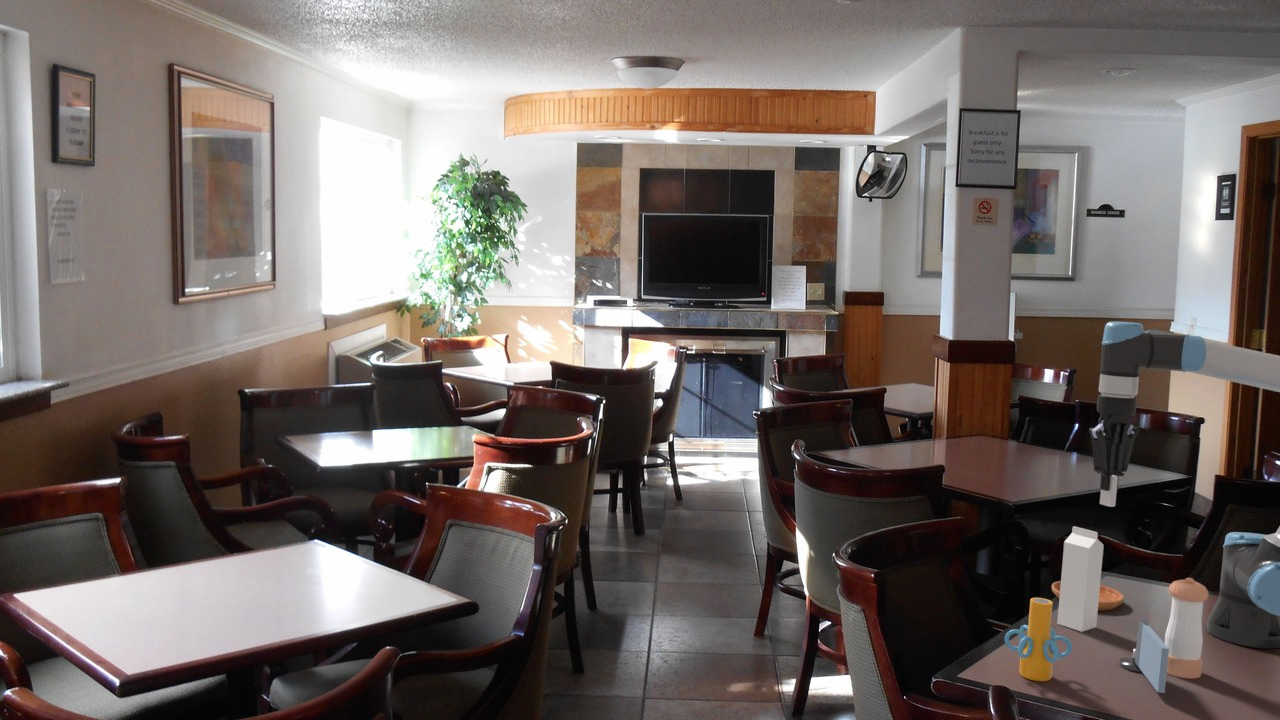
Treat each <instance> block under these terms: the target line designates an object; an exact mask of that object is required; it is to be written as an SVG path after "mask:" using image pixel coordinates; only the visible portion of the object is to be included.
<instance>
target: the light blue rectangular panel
mask: <svg viewBox="0 0 1280 720" xmlns="http://www.w3.org/2000/svg"><path fill="white" fill-rule="evenodd" d="M1137 623H1138V625H1137V635H1136V646H1135V648H1136V655H1135V663H1136V664H1137V666H1138V667H1139V668H1140V669H1141V671H1142V672H1143V673H1142V674H1143V675H1144V676H1145V677H1146V679H1147V680H1148V682H1149V683H1150V685H1152V687H1153V688H1154V690H1155V691H1156V692H1157V693H1161V694H1165V693H1166V685H1167V684H1166V683H1167V674H1168V673H1167V664H1168V654H1169V648H1168V647H1167V646H1166V645H1165V641H1163V640H1162V639H1161V638H1160V637H1159V635H1158V634H1157V633H1156V632H1155V631H1154V630H1153V629H1152V627H1151V626H1150V625H1149V624H1148V622H1147V621H1143V620H1139V621H1138V622H1137Z"/></svg>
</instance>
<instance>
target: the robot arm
mask: <svg viewBox="0 0 1280 720" xmlns="http://www.w3.org/2000/svg"><path fill="white" fill-rule="evenodd" d="M1101 345H1102V346H1101V357H1100V370H1099V373H1100V375H1099V380H1098V382H1099V383H1098V392H1099V393H1100V394H1098V395H1097V400H1096V411H1097V412H1098V414H1099V418H1098V421H1097V426H1095V427H1090V428H1089V430H1088V434H1089V436H1090V438H1091V447H1092V448H1091V449H1092V450H1091V451H1092V461H1093V470H1094V472H1096V473H1097V474H1100V485H1099V489H1100V495H1099V496H1100V497H1099V505H1102V506H1105V507H1110V508H1111V507H1112V508H1113V507H1116V504H1117V503H1116V502H1117V493H1118V492H1117V491H1118V488H1119V481H1120V477H1124V475H1125V473H1126V472H1127V471H1128V468H1129V463H1130V460H1131V456H1132V453H1133V448H1134V444H1135V441H1136V438H1137V436H1138V434H1139V432H1140V428H1139V427H1136V426H1134V425H1133V424H1132V421H1133V420H1132V416H1135V415H1136V412H1137V403H1138V402H1137V401H1138V399H1137V398H1136V397H1135V396H1137V395H1138V394H1139V393H1138V392H1139V379H1140V370H1141V369H1146V370H1149V369H1151V370H1161V371H1162V370H1163V371H1173V372H1174V371H1175V372H1182V373H1185V372H1188V373H1193V374H1198V375H1200V376H1201V375H1202V376H1206V377H1210V378H1215V379H1219V380H1223V381H1227V382H1233V383H1237V384H1242V385H1247V386H1251V387H1254V388H1255V387H1256V388H1260V389H1264V390H1268V391H1272V392H1278V393H1280V355H1277V354H1273V353H1269V352H1268V353H1267V352H1263V351H1260V350H1259V351H1258V350H1253V349H1248V348H1245V347H1240V346H1239V347H1238V346H1236V345H1235V346H1234V345H1230V344H1227V343H1226V344H1225V343H1222V342H1221V343H1220V342H1216V341H1211V340H1207V339H1205V338H1203V337H1202V336H1199V335H1190V334H1178V333H1174V332H1170V331H1165V330H1162V329H1157V328H1156V329H1149V330H1144V325H1143V324H1142V323H1139V322H1129V321H1109V322H1107V323H1106V324H1105V326H1104V330H1103V337H1102V341H1101ZM1222 547H1223V553H1222V563H1221V564H1222V565H1221V572H1220V581H1219V582H1220V584H1219V592H1218V593H1219V594H1218V598H1217V600H1216V602H1215V603H1214V606H1213V608H1212V609H1211V612H1210V614H1209V616H1208V618H1207V622H1206V630H1207V632H1208V633H1209V634H1210V635H1212V636H1214V637H1215V638H1217V639H1221V640H1223V641H1226V642H1228V643H1231V644H1234V645H1235V644H1236V645H1239V646H1244V647H1250V648H1255V649H1256V648H1258V649H1279V648H1280V525H1279V527H1278V528H1277V529H1276V532H1274V533H1270V534H1263V533H1262V534H1261V533H1254V532H1243V531H1242V532H1241V531H1240V532H1239V531H1232V532H1229V533H1227V534H1226V535H1225V538H1224V544H1223V545H1222Z"/></svg>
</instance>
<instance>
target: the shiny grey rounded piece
mask: <svg viewBox="0 0 1280 720" xmlns="http://www.w3.org/2000/svg"><path fill="white" fill-rule="evenodd" d="M1132 650H1133V651H1132V656H1131V657H1130V656H1129V657H1128V656H1127V657H1121V658H1119V661H1118V665H1119V666H1120V667H1121V668H1122V669H1124V670H1127V671H1129V672H1134V673H1139V674H1144V673H1143V672H1142V671H1141V669H1140V668H1139V667H1138V666H1137V664H1136V663H1135V655H1136V647H1135V648H1132Z"/></svg>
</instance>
